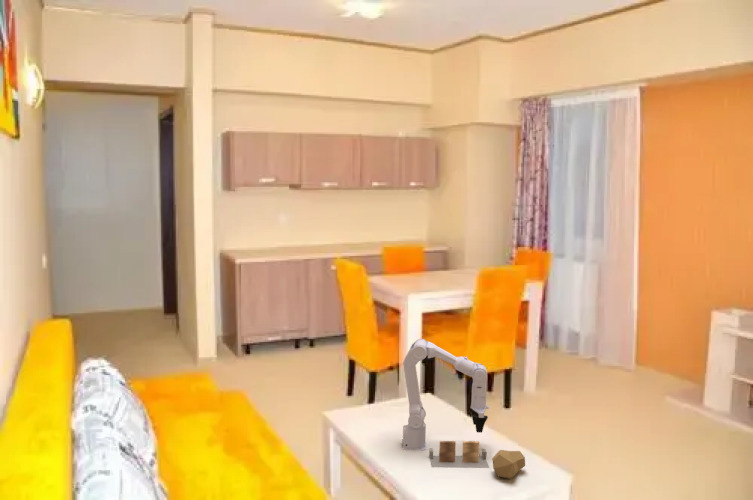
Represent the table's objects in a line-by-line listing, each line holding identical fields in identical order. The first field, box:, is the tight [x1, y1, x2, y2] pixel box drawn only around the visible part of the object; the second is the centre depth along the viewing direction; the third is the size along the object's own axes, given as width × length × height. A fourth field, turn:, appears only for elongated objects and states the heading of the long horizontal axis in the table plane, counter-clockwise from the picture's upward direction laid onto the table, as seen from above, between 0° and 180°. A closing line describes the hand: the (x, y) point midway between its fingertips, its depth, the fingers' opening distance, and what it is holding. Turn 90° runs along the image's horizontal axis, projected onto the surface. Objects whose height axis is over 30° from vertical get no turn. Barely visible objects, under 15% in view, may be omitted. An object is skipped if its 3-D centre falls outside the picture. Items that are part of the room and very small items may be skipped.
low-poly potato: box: [492, 449, 526, 480], centre depth 240 cm, size 15×11×12 cm
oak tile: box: [462, 440, 480, 462], centre depth 251 cm, size 6×1×8 cm, turn 90°
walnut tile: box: [438, 440, 457, 462], centre depth 251 cm, size 6×1×8 cm, turn 90°
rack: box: [428, 447, 490, 469], centre depth 251 cm, size 22×10×4 cm, turn 90°
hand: (477, 428), depth 260 cm, fingers open, 7 cm apart
